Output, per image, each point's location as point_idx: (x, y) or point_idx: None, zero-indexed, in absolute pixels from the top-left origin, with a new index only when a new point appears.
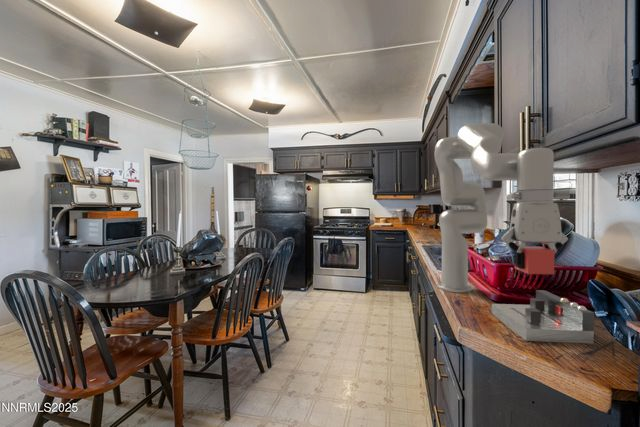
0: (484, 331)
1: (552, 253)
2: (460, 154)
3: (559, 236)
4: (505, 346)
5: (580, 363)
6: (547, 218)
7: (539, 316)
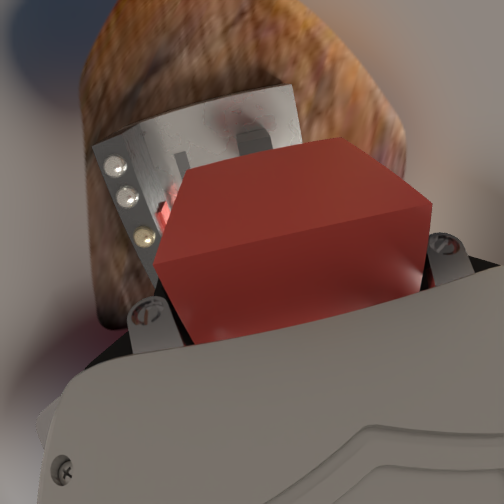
0: (367, 125)
1: (178, 238)
2: None
3: (63, 421)
4: (343, 47)
5: (198, 5)
6: None
7: (240, 139)
